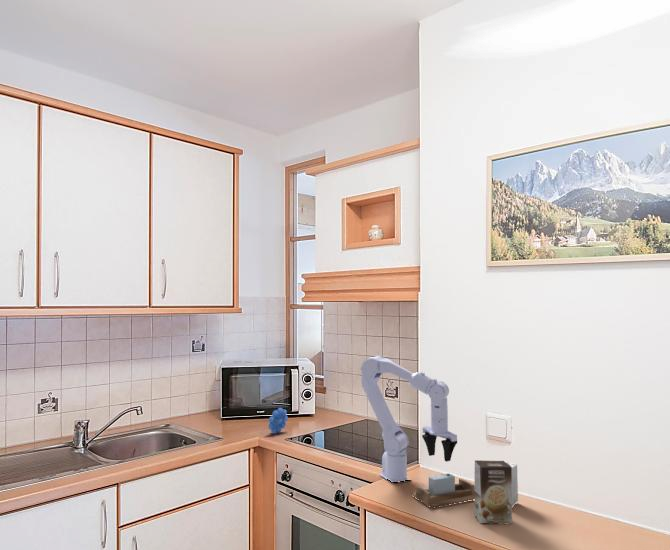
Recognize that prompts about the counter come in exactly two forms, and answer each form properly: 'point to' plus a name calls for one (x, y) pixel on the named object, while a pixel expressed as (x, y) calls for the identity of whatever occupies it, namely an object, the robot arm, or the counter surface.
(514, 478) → the skincare box
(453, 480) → the door panel
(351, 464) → the counter surface
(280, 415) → the grapes
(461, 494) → the wooden tray
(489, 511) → the coffee box
